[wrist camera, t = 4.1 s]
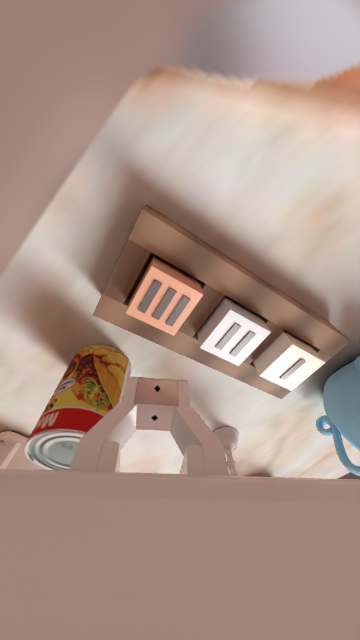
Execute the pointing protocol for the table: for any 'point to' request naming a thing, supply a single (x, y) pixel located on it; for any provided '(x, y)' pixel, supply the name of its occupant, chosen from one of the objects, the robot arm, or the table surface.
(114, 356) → the canned food
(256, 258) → the table surface
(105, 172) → the table surface
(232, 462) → the chalice
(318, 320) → the button board
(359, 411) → the decorative pot
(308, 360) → the tile one
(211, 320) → the tile two
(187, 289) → the tile three
